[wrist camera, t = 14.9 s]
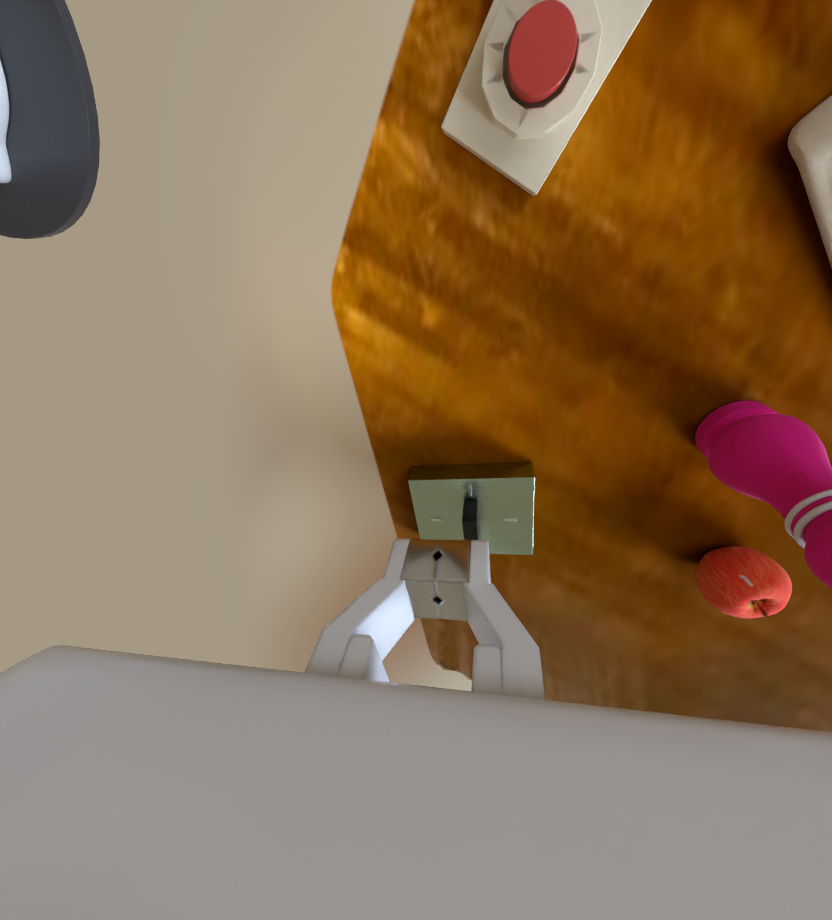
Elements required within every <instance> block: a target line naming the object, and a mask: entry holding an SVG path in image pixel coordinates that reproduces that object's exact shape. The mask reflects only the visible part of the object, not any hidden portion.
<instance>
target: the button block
mask: <svg viewBox="0 0 832 920" xmlns="http://www.w3.org/2000/svg"><path fill="white" fill-rule="evenodd" d="M541 1H544V0H493V3H492V5H491V8H490V10H489V12H488V15H487V17H486V20H485V22H484V24H483V27H482V29H481V32H480V34H479V36H478V39H477V41H476V44H475V46H474V48H473V51H472V53H471V56H470V58H469V60H468V63H467V65H466V68H465V70H464V73H463V75H462V77H461V80H460V82H459V85H458V87H457V89H456V92H455V94H454V97H453V99H452V101H451V104H450V106H449V109H448V111H447V113H446V116H445V118H444V121H443V123H442V126H441V128H442V130H443V132H444V134H445V135H447V136H448V137H449V138H451V139H452V140H454V141H455V142H457V143H458V144H459V145H461V146H462V147H464V148H465V149H467V150H468V151H469V152H471V153H472V154H474V155H475V156H477V157H478V158H479V159H481V160H482V161H484V162H485V163H486V164H488V165H489V166H491V167H492V168H494V169H495V170H496V171H498V172H499V173H501V174H502V175H504V176H505V177H506V178H508V179H509V180H511V181H512V182H514V183H515V184H516V185H518V186H519V187H521V188H522V189H523V190H525V191H526V192H528V193H529V194H531V195H532V196H534V195H536V194H537V193H538V191H539V190H540V188H541V186H542V185H543V183H544V181H545V180H546V178H547V176H548V174H549V173H550V171H551V169H552V168H553V166H554V164H555V163H556V161H557V159H558V158H559V156H560V154H561V153H562V151H563V149H564V147H565V146H566V144H567V142H568V141H569V139H570V137H571V136H572V134H573V132H574V131H575V129H576V127H577V126H578V124H579V122H580V120H581V119H582V117H583V115H584V114H585V112H586V110H587V109H588V107H589V105H590V104H591V102H592V100H593V99H594V97H595V95H596V93H597V92H598V90H599V88H600V87H601V85H602V83H603V82H604V80H605V78H606V77H607V75H608V73H609V72H610V70H611V68H612V66H613V65H614V63H615V61H616V60H617V58H618V56H619V55H620V53H621V51H622V50H623V48H624V46H625V45H626V43H627V41H628V40H629V38H630V36H631V34H632V33H633V31H634V29H635V28H636V26H637V24H638V23H639V21H640V19H641V18H642V16H643V14H644V13H645V11H646V9H647V7H648V6H649V4H650V2H651V1H652V0H557V1H560V2H562V3H563V4H565V5H566V6H567V7H568V8H569V10H570V11H571V13H572V15H573V17H574V20H575V23H576V28H577V46H576V51H575V55H574V59H573V62H572V64H571V66H570V68H569V71H568V72H567V74H566V76H565V78H564V80H563V82H562V83H561V85H560V86H559V88H558V89H557V90H556V91H555V92H554V93H553V94H552V95H551V96H550V97H548V98H547V99H545V100H543V101H541V102H538V103H526V102H524V101H522V100H520V99H519V98H518V97H517V96H516V95H515V94H514V92H513V91H512V89H511V87H510V84H509V80H508V74H507V63H508V54H509V47H510V42H511V39H512V35H513V33H514V30H515V28H516V26H517V24H518V23H519V21H520V19H521V18H522V17H523V15H524V14H525V13H526V12H527V11H528V10H529V9H530V8H531V7H532V6H534V5H535V4H537V3H539V2H541Z"/></svg>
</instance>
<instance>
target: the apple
mask: <svg viewBox="0 0 832 920" xmlns="http://www.w3.org/2000/svg"><path fill="white" fill-rule="evenodd" d="M696 582H697V585H698V588H699V590H700V591H701V593H702V595H703V596H704V598H705V599H706V600H707V601H708V602H709V603H710V604H711V605H712V606H713V607H715V608H716V609H718V610H719V611H721V612H723V613H726V614H728V615H731V616H735V617H740V618H757V617H763V616H764V617H766V616H768V615H772V614H775V613H778V612H780V611H781V610H782V609H783V608H784V607H785V606H786V604H787V602H788V600H789V598H790V596H791V591H792V584H791V580H790V578H789V576H788V574H787V573H786V571H785V570H784V569H783V568H782V567H781V566H780V565H779V564H778V563H777V562H775V561H774V560H772V559H771V558H769V557H768V556H766V555H764V554H762V553H761V552H759V551H756V550H754V549H751V548H748V547H743V546H729V547H723V548H719V549H715V550H712V551H710V552H708V553H707V554H705V555H704V556H703V558H702V559H701V560H700V562H699V564H698V566H697V569H696Z"/></svg>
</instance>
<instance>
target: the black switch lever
mask: <svg viewBox="0 0 832 920" xmlns="http://www.w3.org/2000/svg"><path fill="white" fill-rule="evenodd" d="M462 527H463V535H464V540H481V534H480V522H479V510H478V501H477V500H472V501H464V504H463V515H462Z"/></svg>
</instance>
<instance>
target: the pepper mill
mask: <svg viewBox="0 0 832 920" xmlns="http://www.w3.org/2000/svg"><path fill="white" fill-rule="evenodd" d="M695 441H696V445H697V447H698V448H699V449H700V451H701V452H702V453H703V454H704V455H705V456H706V457H707V458H708V464H709V467H710V470H711V471H712V473H713V474H714V475H715V476H716V477H717V478H718V479H719V480H720V481H721V482H722V483H723V484H725V485H726V486H728V487H730V488H731V489H733V490H735V491H737V492H739V493H742V494H745V495H747V496H750V497H753V498H756V499H759V500H762V501H764V502H767V503H768V504H770V505H771V506H773V507H774V508H775V509H776V510H777V511H778V512H780V513H781V515H782V516H783V517H784V518H785V529H786V531H787V532H788V534H789V535H790V536H792V537H793V538H795V541H796V542H797V543H798V544H799V545H800V546H801V547H803V548H805V550H804V555H805V559H806V562H807V564H808V566H809V567H810V569H811V570H812V572H813V573H814V574H815V575H816V576H817V577H818V578H819V579H820V580H821V581H822V582H824V583H825V584H826V585H827V586H828V587H830V588H831V589H832V468H831V465H830V462H829V459H828V456H827V453H826V449H825V447H824V445H823V443H822V442H821V440H820V438H819V437H818V435H817V434H816V433H815V432H814V431H813V430H812V429H811V428H810V427H809V426H807V425H806V424H805V423H804V422H802V421H800V420H798V419H796V418H794V417H791V416H787V415H781V414H778V413H776V412H775V411H773V410H772V409H770V408H769V407H767V406H766V405H764V404H762V403H760V402H756V401H738V402H733V403H729V404H727V405H724V406H722V407H719V408H718V409H716V410H714V411H713V412H711V413H710V414H709V415H708V416H707V417H705V418H704V419H703V421H702V422H701V423H700V425H699V426H698V428H697V431H696V434H695Z"/></svg>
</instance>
